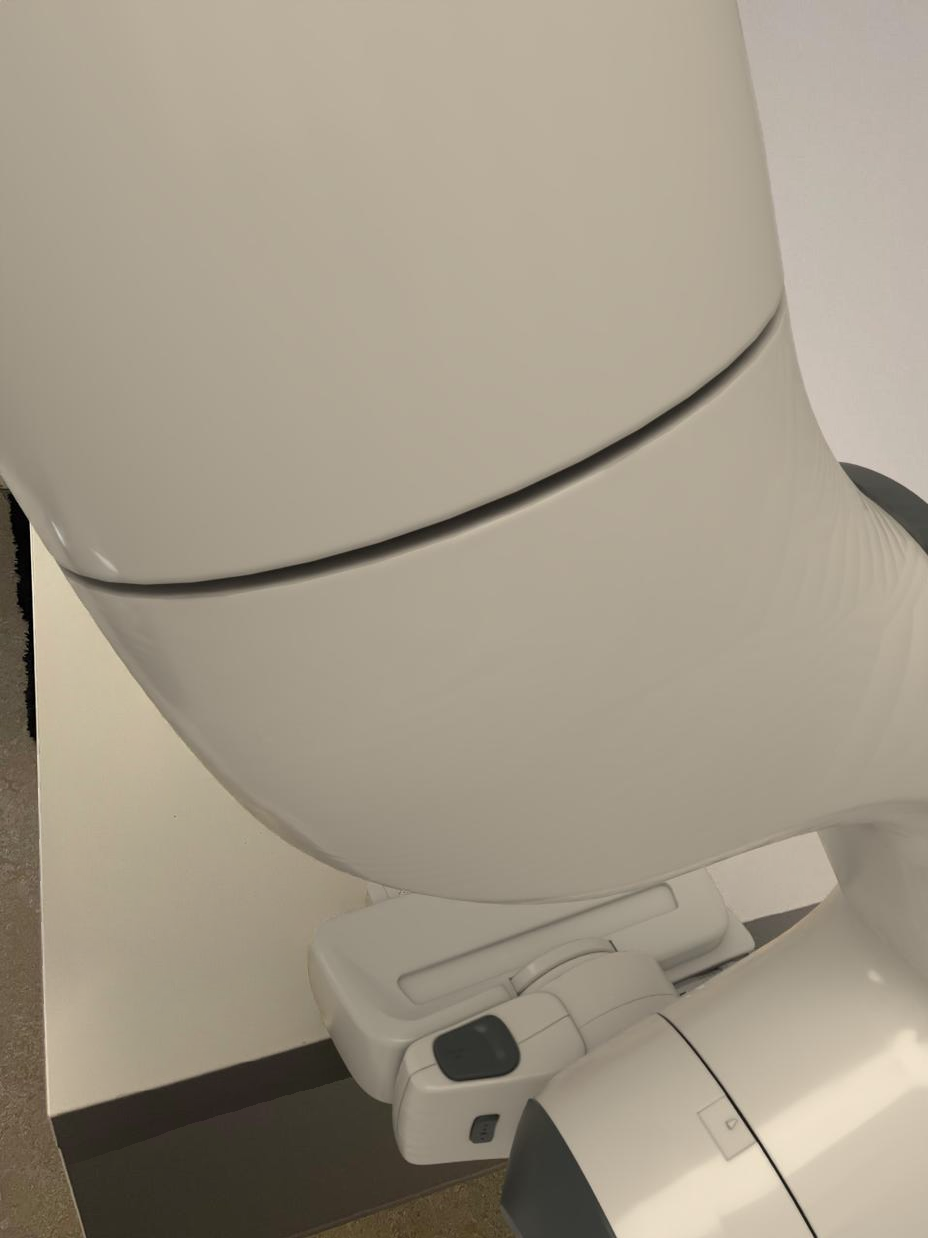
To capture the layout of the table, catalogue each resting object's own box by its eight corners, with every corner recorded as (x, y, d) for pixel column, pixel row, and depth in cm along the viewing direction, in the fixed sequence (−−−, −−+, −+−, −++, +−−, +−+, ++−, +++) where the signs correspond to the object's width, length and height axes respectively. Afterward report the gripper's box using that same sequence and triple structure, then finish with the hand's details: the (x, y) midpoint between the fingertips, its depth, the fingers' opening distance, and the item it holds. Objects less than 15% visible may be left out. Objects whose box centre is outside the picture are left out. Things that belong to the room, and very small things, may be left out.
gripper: (797, 930, 41) (629, 729, 51) (378, 1104, 33) (272, 825, 42) (754, 1006, 45) (605, 805, 54) (368, 1179, 36) (273, 907, 46)
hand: (457, 815), depth 48 cm, fingers open, 8 cm apart
